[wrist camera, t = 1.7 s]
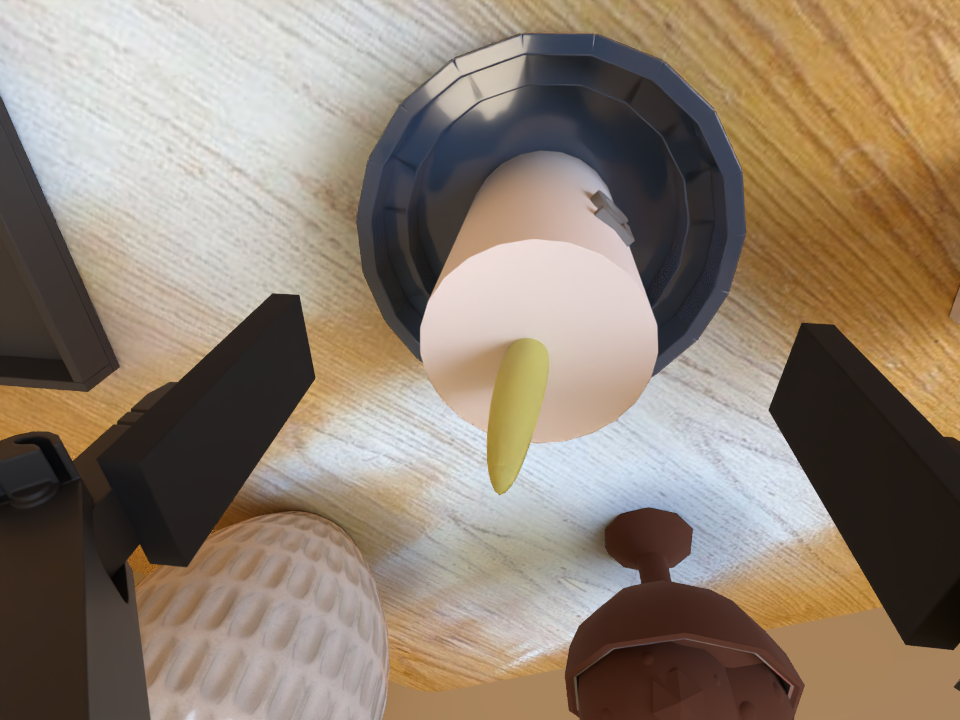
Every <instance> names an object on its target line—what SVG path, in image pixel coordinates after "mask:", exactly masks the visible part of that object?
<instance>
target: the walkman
mask: <svg viewBox="0 0 960 720" xmlns="http://www.w3.org/2000/svg"><path fill="white" fill-rule="evenodd" d="M949 318H951V319H952V320H953V321H955V322H956V323H957V324H959V325H960V287H959V290H958V293H957V296H956V299H955V301H954V304H953V307H952V310H951V313H950V316H949Z"/></svg>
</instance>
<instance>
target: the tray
mask: <svg viewBox="0 0 960 720" xmlns="http://www.w3.org/2000/svg"><path fill="white" fill-rule="evenodd" d="M118 368H119V364H118V362H117V360H116V358H115V355H114V353H113V351H112V349H111V346H110V344H109V342H108V340H107V337H106V335H105V333H104V330H103V328H102V326H101V324H100V321H99V319H98V317H97V315H96V312H95V310H94V308H93V305H92V303H91V301H90V299H89V296H88V294H87V292H86V290H85V287H84V285H83V283H82V280H81V278H80V276H79V274H78V271H77V269H76V267H75V265H74V262H73V260H72V258H71V255H70V253H69V251H68V249H67V246H66V244H65V242H64V240H63V237H62V235H61V233H60V231H59V228H58V226H57V224H56V221H55V219H54V217H53V215H52V212H51V210H50V208H49V206H48V203H47V201H46V199H45V196H44V194H43V192H42V190H41V187H40V185H39V183H38V181H37V178H36V176H35V174H34V171H33V169H32V167H31V165H30V162H29V160H28V158H27V156H26V153H25V151H24V149H23V146H22V144H21V142H20V140H19V137H18V135H17V133H16V131H15V128H14V126H13V124H12V122H11V119H10V117H9V115H8V112H7V110H6V108H5V106H4V103H3V101H2V99H1V97H0V385H7V386H20V387H32V388H45V389H58V390H71V391H84V392H88V391H90V390H91V389H92V388H94V387H95V386H96V385H97V384H99V383H100V382H101V381H102V380H104V379H105V378H106V377H108V376H109V375H110V374H111V373H113V372H114V371H115V370H117V369H118Z"/></svg>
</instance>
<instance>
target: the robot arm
mask: <svg viewBox="0 0 960 720" xmlns="http://www.w3.org/2000/svg"><path fill="white" fill-rule="evenodd" d="M314 380H315V373H314V368H313V363H312V358H311V353H310V347H309V342H308V337H307V332H306V327H305V322H304V317H303V312H302V306H301V301H300V296H299V295H291V294H271V295H270V296H269V297H268V298H267V299H266V300H265V301H264V302H263V303H262V304H261V305H260V306H259V307H258V308H257V309H255V310H254V311H253V312H252V313H251V314H250V315H249V316H248V317H247V318H246V319H245V320H244V321H243V322H242V323H241V324H239V325H238V326H237V327H236V328H235V329H234V330H233V331H232V332H231V333H230V334H229V335H228V336H227V337H226V338H225V339H223V340H222V341H221V342H220V343H219V344H218V345H217V346H216V347H215V348H214V349H213V350H212V351H211V352H210V353H209V354H207V355H206V356H205V357H204V358H203V359H202V360H201V361H200V362H199V363H198V364H197V365H196V366H195V367H194V368H193V369H191V370H190V371H189V372H188V373H187V374H186V375H185V376H184V377H183V378H182V379H181V380H180V381H179V382H169V383H167V384H165V385H163V386H162V387H160V388H158V389H156V390H154V391H152V392H151V393H149V394H147V395H146V396H145V397H144V398H143V399H142V400H140V401H139V402H138V403H137V404H136V405H135V406H134V407H133V408H131V412H127V413H126V414H125V415H124V416H123V417H121V418H120V419H119V420H118V421H117V425H113V426H111V427H110V428H109V429H108V430H107V431H106V432H105V433H104V434H102V435H101V436H100V437H99V438H98V439H97V440H96V441H95V442H94V443H92V444H91V445H90V446H89V447H88V448H87V449H86V450H85V451H84V452H82V453H81V454H80V455H79V456H78V457H77V458H76V459H75V460H73V461H72V459H71V458H70V456H69V454H68V452H67V450H66V449H65V447H64V445H63V443H62V441H61V440H60V438H59V436H58V435H56V434H53V433H51V432H29V433H24V434H19V435H15V436H12V437H9V438H7V439H4V440H1V441H0V720H151V718H150V710H149V701H148V693H147V685H146V677H145V669H144V660H143V652H142V644H141V636H140V627H139V619H138V611H137V603H136V594H135V586H134V579H133V571H132V569H131V567H130V565H129V563H128V561H127V559H128V558H129V557H130V555H131V554H132V553H133V552H134V550H135V549H136V548H137V547H138V545H139V544H140V545H141V547H142V549H143V551H144V553H145V555H146V557H147V559H148V560H149V562H150V564H158V565H167V566H177V567H186V568H187V567H188V565H189V564H190V562H191V561H192V559H193V558H194V556H195V555H196V553H197V552H198V550H199V549H200V548H201V546H202V545H203V543H204V542H205V540H206V539H207V537H208V536H209V534H210V533H211V531H212V530H213V528H214V527H215V525H216V524H217V522H218V521H219V520H220V518H221V517H222V515H223V514H224V512H225V511H226V509H227V508H228V506H229V505H230V503H231V502H232V500H233V499H234V497H235V496H236V495H237V493H238V492H239V490H240V489H241V487H242V486H243V484H244V483H245V481H246V480H247V478H248V477H249V475H250V474H251V472H252V471H253V469H254V468H255V467H256V465H257V464H258V462H259V461H260V459H261V458H262V456H263V455H264V453H265V452H266V450H267V449H268V447H269V446H270V444H271V443H272V442H273V440H274V439H275V437H276V436H277V434H278V433H279V431H280V430H281V428H282V427H283V425H284V424H285V422H286V421H287V419H288V418H289V416H290V415H291V414H292V412H293V411H294V409H295V408H296V406H297V405H298V403H299V402H300V400H301V399H302V397H303V396H304V394H305V393H306V391H307V390H308V388H309V387H310V386H311V384H312V383H313V381H314ZM769 412H770V414H771V415H772V417H773V419H774V420H775V422H776V424H777V426H778V427H779V429H780V431H781V432H782V434H783V436H784V438H785V439H786V441H787V443H788V444H789V446H790V448H791V450H792V451H793V453H794V455H795V456H796V458H797V460H798V462H799V463H800V465H801V467H802V468H803V470H804V472H805V474H806V475H807V477H808V479H809V480H810V482H811V484H812V486H813V487H814V489H815V491H816V492H817V494H818V496H819V498H820V499H821V501H822V503H823V504H824V506H825V508H826V510H827V511H828V513H829V515H830V516H831V518H832V520H833V522H834V523H835V525H836V527H837V528H838V530H839V532H840V533H841V535H842V537H843V539H844V540H845V542H846V544H847V545H848V547H849V549H850V551H851V552H852V554H853V556H854V557H855V559H856V561H857V563H858V564H859V566H860V568H861V569H862V571H863V573H864V575H865V576H866V578H867V580H868V581H869V583H870V585H871V587H872V588H873V590H874V592H875V593H876V595H877V597H878V599H879V600H880V602H881V604H882V605H883V607H884V609H885V611H886V612H887V614H888V615H889V617H890V619H891V621H892V623H893V624H894V626H895V627H896V629H897V631H898V633H899V634H900V636H901V638H902V640H903V641H904V643H905V645H911V646H921V647H930V648H939V649H948V650H954V649H955V648H956V647H957V645H958V644H959V643H960V441H958V440H957V439H955V438H953V437H943V436H942V435H941V434H940V433H939V432H938V431H937V430H936V429H935V428H934V426H933V425H932V424H931V423H930V422H929V421H928V420H927V419H926V418H925V417H924V416H923V415H922V414H921V413H920V412H919V411H918V410H917V409H916V408H915V407H914V406H913V405H912V404H911V403H910V402H909V401H908V400H907V399H906V398H905V397H904V396H903V395H902V394H901V393H900V392H899V391H898V390H897V389H896V388H895V387H894V386H893V385H892V384H891V383H890V382H889V381H888V380H887V379H886V378H885V376H884V375H883V374H882V373H881V372H880V371H879V370H878V369H877V368H876V367H875V366H874V365H873V364H872V363H871V362H870V361H869V360H868V359H867V358H866V357H865V356H864V355H863V354H862V353H861V352H860V351H859V350H858V349H857V348H856V347H855V346H854V345H853V344H852V343H851V342H850V341H849V340H848V339H847V338H846V337H845V336H844V335H843V334H842V333H841V332H840V331H839V330H838V329H837V328H836V326H835V325H831V324H813V323H801V326H800V328H799V331H798V334H797V336H796V339H795V342H794V344H793V347H792V349H791V352H790V355H789V357H788V360H787V363H786V365H785V368H784V371H783V373H782V376H781V379H780V381H779V384H778V386H777V389H776V392H775V394H774V397H773V400H772V402H771V405H770V408H769ZM954 687H955V688H956V689H957V690H959V691H960V680H959V681H958V682H957V683H956V685H955V686H954Z"/></svg>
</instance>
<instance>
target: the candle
mask: <svg viewBox="0 0 960 720" xmlns="http://www.w3.org/2000/svg"><path fill="white" fill-rule="evenodd" d="M627 222H628V219H627V217H626V216H625V215H624V214H623V213H622V211H621V210H620V209H619V208H618V207H617V206H616V205H615V204H614V203H613V200H612V197H611V194H610V192H609V189H608V187H607V185H606V184H605V183H604V181H603V180H602V179H601V177H600V176H599V175H598V173H597V172H596V171H595V170H594V169H592V168H591V167H590V166H588V165H587V164H586V163H584V162H583V161H582V160H580V159H578V158H575V157H573V156H570V155H567V154H565V153H562V152H554V151H541V150H540V151H535V152H530V153H525V154H520V155H518V156H516V157H514V158H512V159H510V160H508V161H506V162H504V163H502V164H501V165H500V166H499V167H498V168H497V169H496V170H494V171H493V172H492V173H491V174H490V175H489V176H488V177H487V178H486V180H485V181H484V183H483V184H482V186H481V187H480V189H479V191H478V192H477V194H476V196H475V198H474V201H473V203H472V205H471V207H470V209H469V212H468V214H467V216H466V218H465V221H464V223H463V225H462V227H461V229H460V232H459V234H458V236H457V238H456V241H455V243H454V245H453V247H452V250H451V252H450V254H449V256H448V258H447V261H446V263H445V265H444V267H443V270H442V272H441V274H440V276H439V278H438V281H437V283H436V285H435V287H434V290H433V292H432V294H431V296H430V299H429V301H428V304H427V307H426V310H425V313H424V317H423V320H422V323H421V327H420V354H421V357H422V361H423V364H424V367H425V370H426V374H427V377H428V379H429V381H430V382H431V384H432V385H433V387H434V388H435V390H436V392H437V393H438V395H439V396H440V398H441V399H442V401H443V402H445V403H446V404H447V405H448V406H449V407H450V408H451V409H452V410H453V411H454V412H455V413H456V414H457V415H458V416H459V417H461V418H462V419H464V420H465V421H467V422H469V423H471V424H472V425H474V426H476V427H477V428H479V429H481V430H483V431H484V432H487V463H488V472H489V476H490V480H491V483H492V485H493V488H494V490H495V491H496V492H497V493H498V494H499V495H501V494H503V493H505V492H506V491H507V490H508V489H509V488H510V487H511V485H512V484H513V482H514V481H515V479H516V477H517V475H518V473H519V471H520V469H521V467H522V464H523V462H524V459H525V456H526V454H527V451H528V448H529V445H530V442H531V443H547V442H560V441H567V440H571V439H574V438H577V437H581V436H584V435H588V434H591V433H593V432H595V431H597V430H599V429H601V428H602V427H604V426H606V425H608V424H610V423H612V422H613V421H615V420H617V419H618V418H619V417H620V416H621V415H622V414H623V413H624V412H625V411H627V410H628V409H629V408H630V407H631V406H632V405H633V404H634V403H635V402H636V401H637V400H638V398H639V397H640V395H641V394H642V392H643V390H644V389H645V387H646V386H647V384H648V383H649V381H650V379H651V376H652V373H653V369H654V366H655V362H656V359H657V355H658V333H657V323H656V320H655V318H654V315H653V312H652V309H651V306H650V304H649V301H648V298H647V295H646V292H645V289H644V287H643V284H642V281H641V278H640V275H639V273H638V270H637V267H636V264H635V261H634V259H633V256H632V253H631V250H630V247H629V245H630V244H631V243H633V242H634V241H635V240H634V237H633V235H632V232H631V230H630V227H629V226H628V225H627V224H626V223H627Z"/></svg>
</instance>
